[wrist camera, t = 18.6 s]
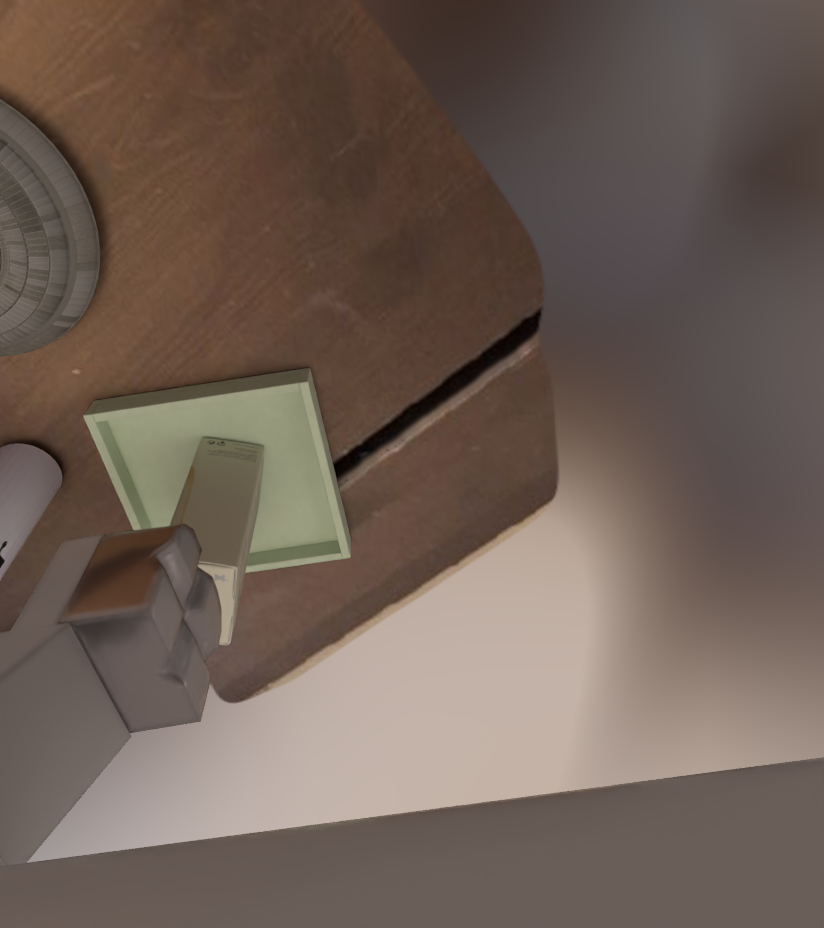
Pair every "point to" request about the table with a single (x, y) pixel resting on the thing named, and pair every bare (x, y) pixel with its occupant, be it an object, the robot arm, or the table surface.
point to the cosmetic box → (223, 515)
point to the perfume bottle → (23, 495)
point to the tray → (240, 420)
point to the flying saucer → (41, 239)
